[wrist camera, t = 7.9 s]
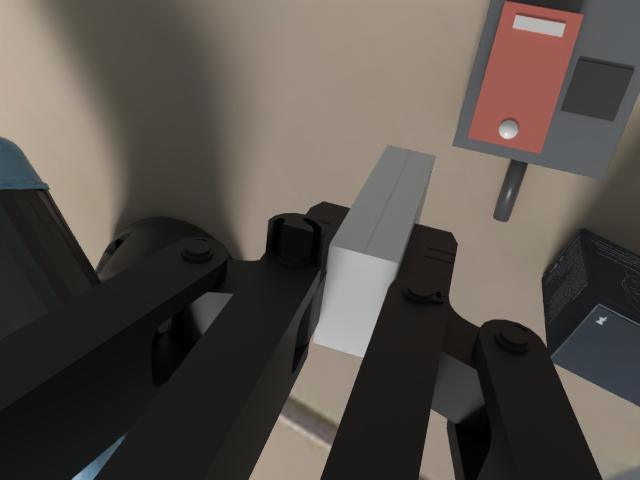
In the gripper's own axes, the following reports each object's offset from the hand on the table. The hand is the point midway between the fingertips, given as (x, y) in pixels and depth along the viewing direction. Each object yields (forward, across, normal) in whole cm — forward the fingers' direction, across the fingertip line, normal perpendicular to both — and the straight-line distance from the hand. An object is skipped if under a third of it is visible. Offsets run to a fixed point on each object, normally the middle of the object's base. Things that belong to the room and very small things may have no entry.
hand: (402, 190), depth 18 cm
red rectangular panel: (+21, +4, 0) cm, 21 cm away
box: (+27, +15, -15) cm, 34 cm away
